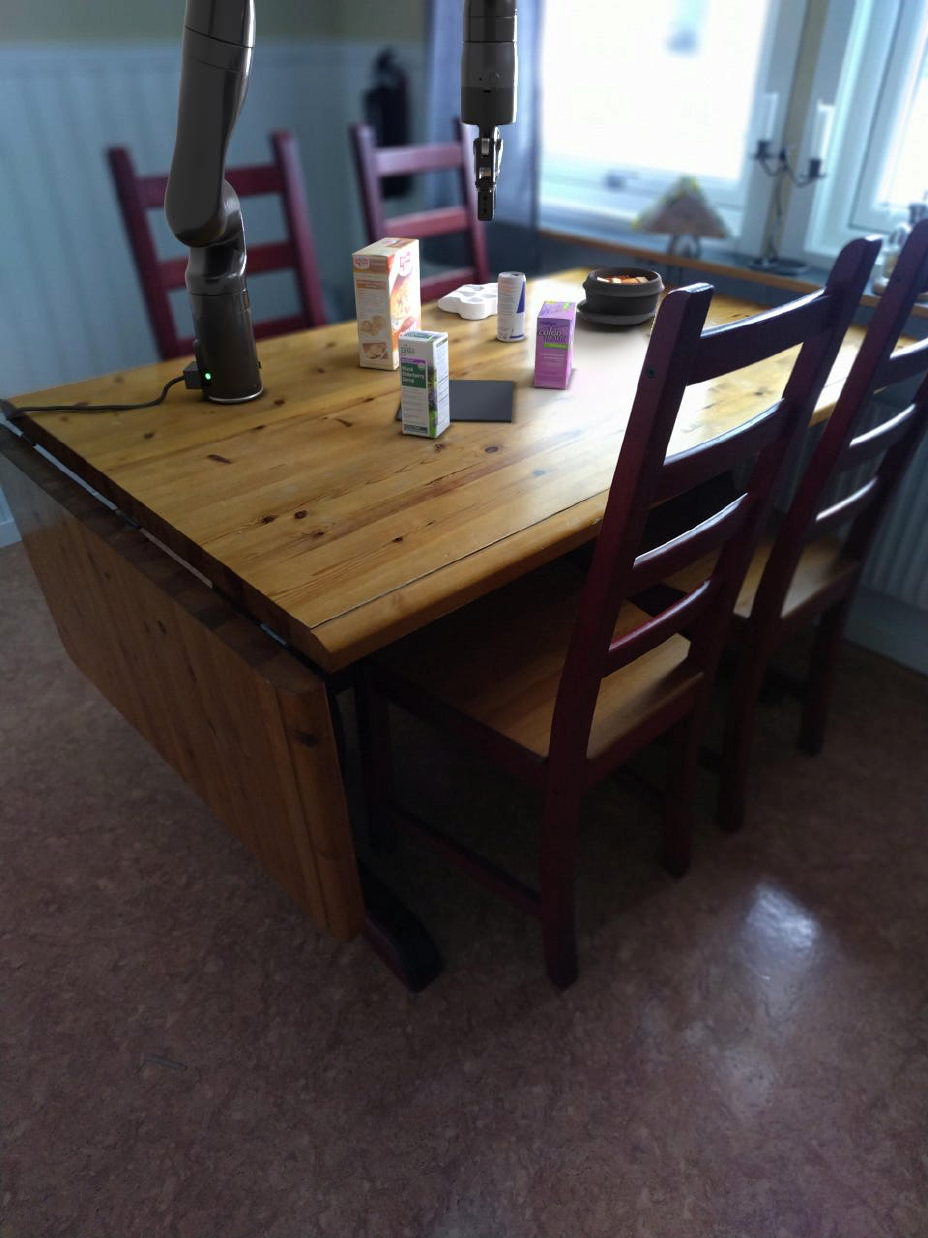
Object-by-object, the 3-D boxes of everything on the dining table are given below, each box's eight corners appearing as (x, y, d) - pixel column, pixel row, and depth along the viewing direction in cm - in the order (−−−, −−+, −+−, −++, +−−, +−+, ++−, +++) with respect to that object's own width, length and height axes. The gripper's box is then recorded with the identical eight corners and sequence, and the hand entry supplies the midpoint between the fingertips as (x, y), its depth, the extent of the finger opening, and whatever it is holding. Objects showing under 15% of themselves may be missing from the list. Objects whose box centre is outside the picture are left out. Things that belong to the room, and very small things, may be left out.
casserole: (655, 337, 168) (660, 293, 163) (563, 329, 173) (565, 286, 168) (673, 304, 187) (678, 264, 182) (590, 298, 192) (592, 258, 187)
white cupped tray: (464, 294, 196) (524, 300, 191) (431, 315, 182) (494, 322, 177) (464, 279, 194) (524, 285, 189) (430, 298, 180) (494, 305, 175)
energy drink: (528, 336, 169) (530, 273, 162) (515, 343, 165) (517, 279, 158) (505, 332, 171) (506, 270, 164) (491, 339, 168) (492, 275, 161)
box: (566, 389, 144) (571, 318, 137) (533, 387, 145) (535, 316, 138) (572, 369, 153) (577, 301, 146) (541, 367, 154) (543, 300, 147)
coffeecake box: (394, 371, 153) (388, 255, 142) (358, 367, 155) (349, 253, 144) (423, 346, 165) (420, 238, 153) (390, 343, 166) (383, 235, 155)
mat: (397, 420, 134) (396, 418, 133) (410, 381, 148) (410, 379, 148) (511, 422, 133) (511, 419, 132) (513, 382, 147) (513, 380, 147)
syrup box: (401, 434, 129) (395, 337, 121) (417, 420, 134) (413, 326, 125) (435, 439, 127) (432, 342, 119) (451, 425, 132) (448, 330, 123)
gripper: (464, 79, 120) (464, 206, 129) (456, 85, 108) (457, 224, 117) (518, 79, 119) (514, 206, 128) (515, 85, 107) (511, 224, 117)
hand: (486, 214), depth 123 cm, fingers open, 8 cm apart
